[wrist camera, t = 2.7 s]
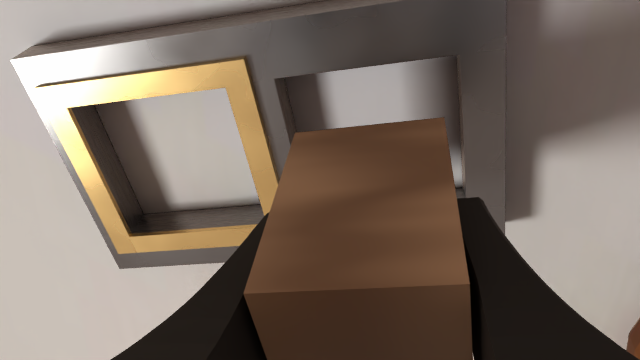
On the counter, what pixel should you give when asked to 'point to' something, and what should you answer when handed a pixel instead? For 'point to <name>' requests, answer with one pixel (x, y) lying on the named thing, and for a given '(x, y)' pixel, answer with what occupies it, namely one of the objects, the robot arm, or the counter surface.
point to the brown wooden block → (364, 249)
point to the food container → (634, 340)
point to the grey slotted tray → (257, 102)
